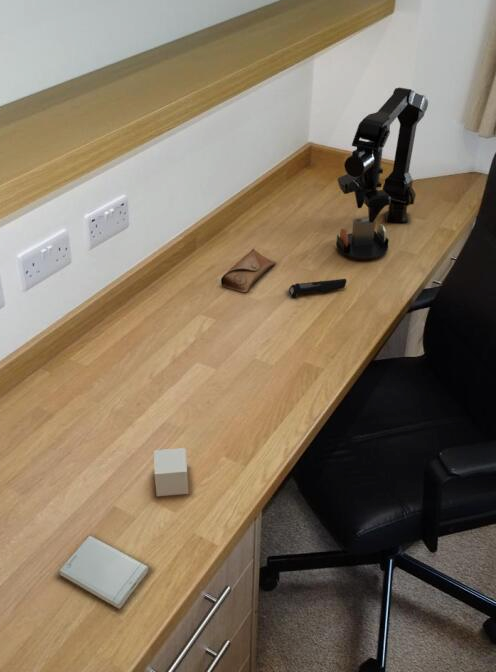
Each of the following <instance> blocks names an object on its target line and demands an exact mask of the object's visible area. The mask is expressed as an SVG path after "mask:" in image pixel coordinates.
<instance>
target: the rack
mask: <svg viewBox="0 0 496 672" xmlns="http://www.w3.org/2000/svg"><path fill="white" fill-rule="evenodd" d="M376 222H377V221H376V219H375V220H374V222H372V223H370V222H369V217H361V218H353V220H352V231H351V232H349V233H348V231H347V229H346V228H341V229H340V232H339V234H337V236H336V242H335V248H336V249H337V251H338V252H339V253H341V254H342V255H344V256H345V257H347V256H348V258H350V257H352V258H356V259H372V260H375V259H377V258H381V257H382V256H385V255H386V254H387V253H388V251H389V241H390V239H389V238H388V237H387V230H386V227H385V226H384V224H382V223H380V224H378V225H377V227H376ZM375 229H376V230H375ZM352 258H351V259H352ZM374 258H375V259H374ZM356 259H355V260H356Z"/></svg>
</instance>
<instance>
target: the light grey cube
mask: <svg viewBox="0 0 496 672" xmlns="http://www.w3.org/2000/svg"><path fill="white" fill-rule="evenodd" d="M153 462H154V467H153V469H154V482H155V491H156V492H155V493H156V497H165V496H179V495H189V479H188V466H187V464H188V463H187V451H186V447H180V448H167V449H155V450H153Z"/></svg>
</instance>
